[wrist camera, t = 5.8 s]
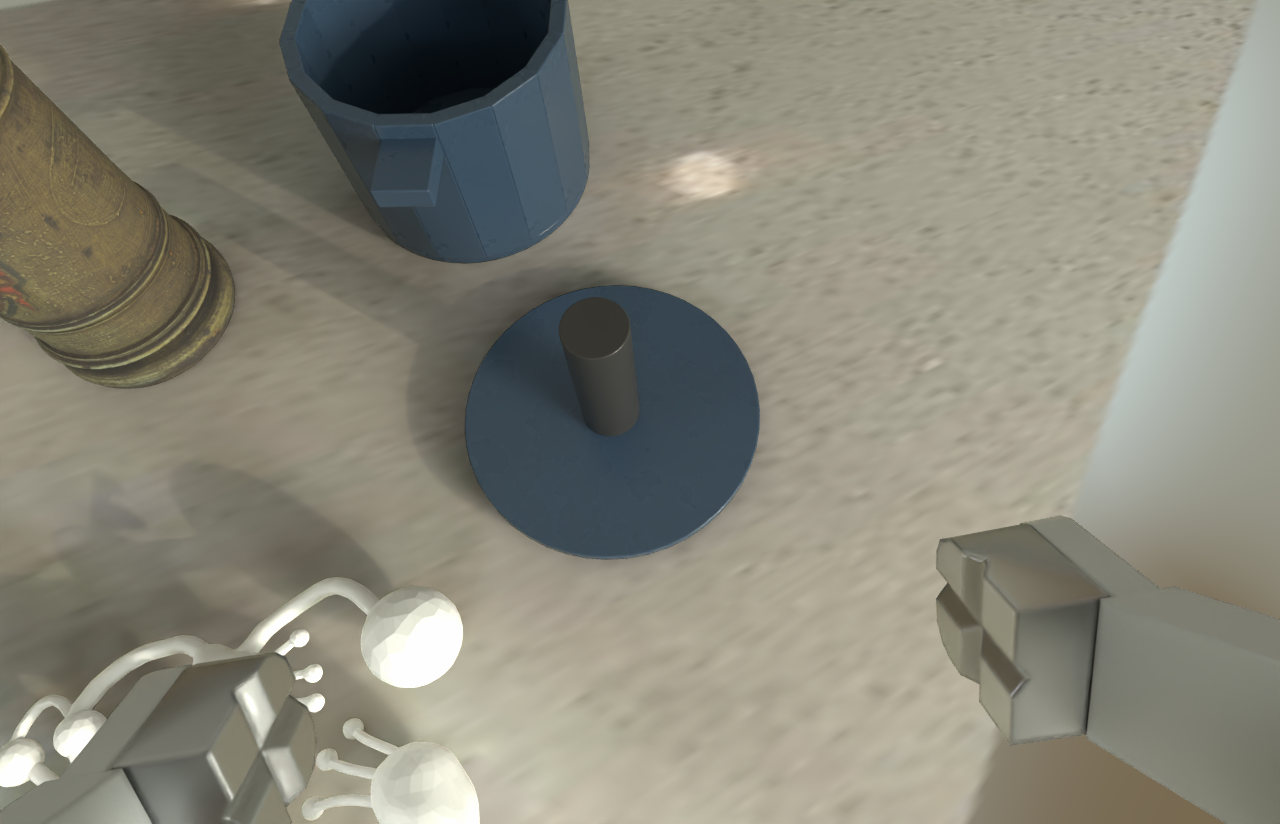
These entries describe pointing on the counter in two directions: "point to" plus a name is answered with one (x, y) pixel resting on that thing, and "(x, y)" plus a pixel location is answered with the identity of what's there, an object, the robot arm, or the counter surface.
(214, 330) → the container
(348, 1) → the pot
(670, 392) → the lid
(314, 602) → the tangled rod sculpture
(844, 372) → the counter surface
